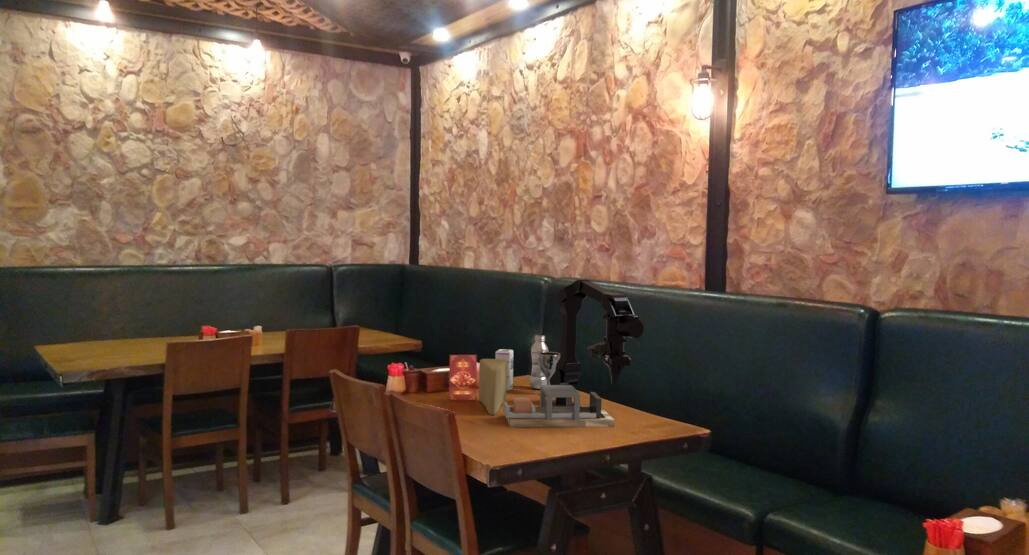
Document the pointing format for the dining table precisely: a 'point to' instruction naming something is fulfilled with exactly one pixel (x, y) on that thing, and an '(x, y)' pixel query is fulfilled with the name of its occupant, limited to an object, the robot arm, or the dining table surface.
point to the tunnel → (559, 391)
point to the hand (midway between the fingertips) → (613, 383)
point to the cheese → (492, 383)
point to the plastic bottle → (537, 374)
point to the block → (522, 405)
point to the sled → (593, 408)
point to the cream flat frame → (563, 421)
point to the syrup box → (508, 356)
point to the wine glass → (548, 363)
